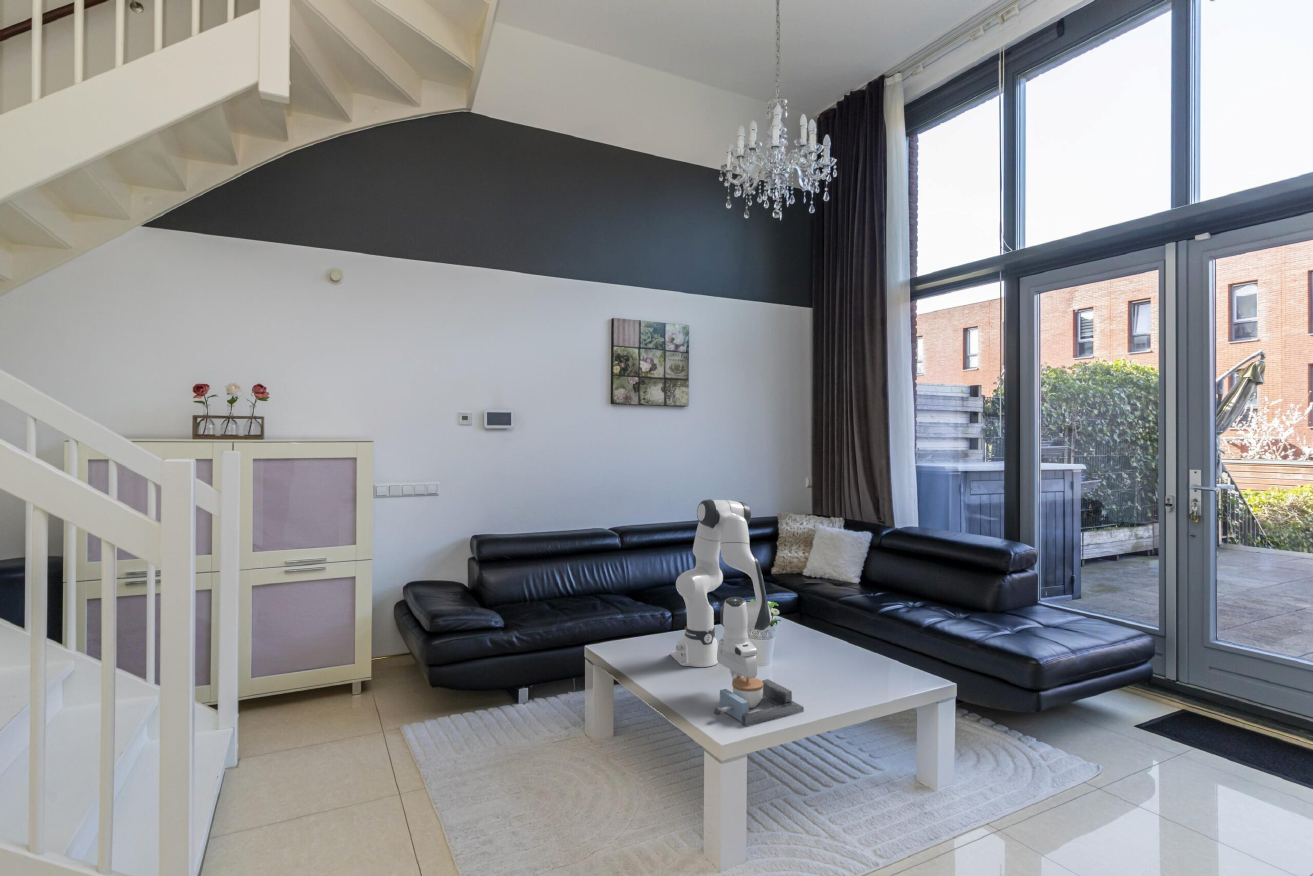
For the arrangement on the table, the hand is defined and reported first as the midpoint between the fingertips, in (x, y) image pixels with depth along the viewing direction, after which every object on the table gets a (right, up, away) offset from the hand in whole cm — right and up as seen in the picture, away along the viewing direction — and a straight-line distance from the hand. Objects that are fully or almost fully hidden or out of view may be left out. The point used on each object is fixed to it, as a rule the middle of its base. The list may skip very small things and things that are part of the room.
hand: (736, 683), depth 234 cm
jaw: (-6, -5, -16) cm, 18 cm away
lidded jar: (+3, -5, -6) cm, 9 cm away
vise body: (+7, -5, -11) cm, 14 cm away
